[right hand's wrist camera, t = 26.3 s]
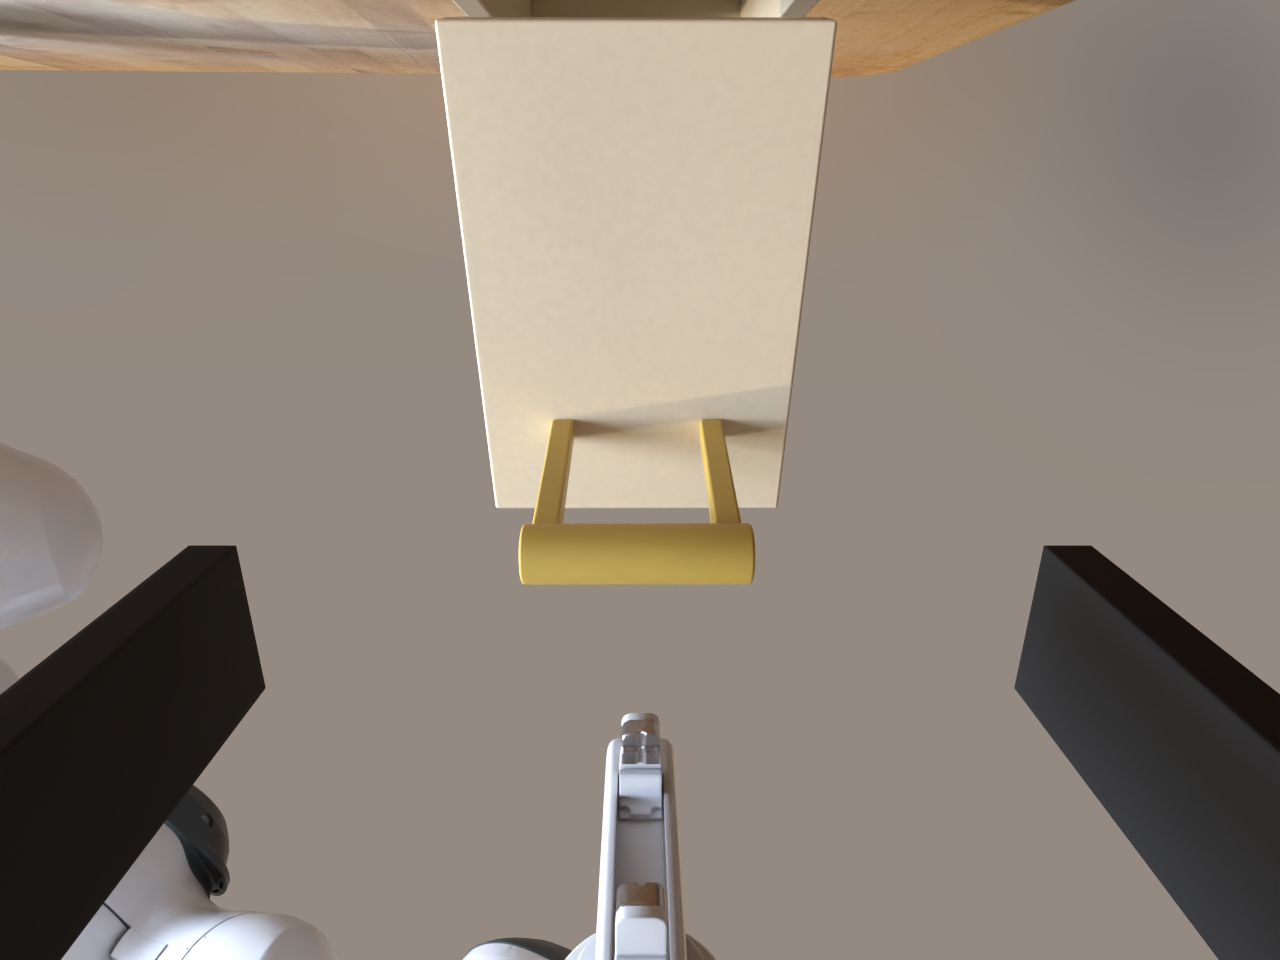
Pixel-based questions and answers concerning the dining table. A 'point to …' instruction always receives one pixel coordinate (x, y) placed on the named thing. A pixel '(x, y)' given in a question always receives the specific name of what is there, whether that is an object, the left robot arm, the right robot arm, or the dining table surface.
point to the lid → (636, 273)
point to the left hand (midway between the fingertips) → (640, 798)
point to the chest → (636, 8)
